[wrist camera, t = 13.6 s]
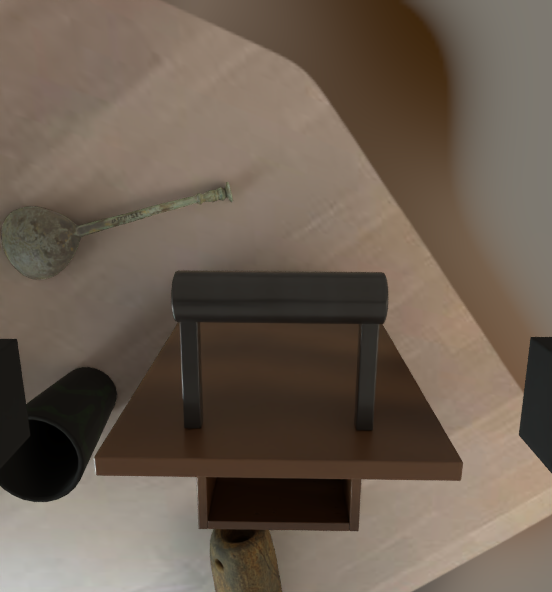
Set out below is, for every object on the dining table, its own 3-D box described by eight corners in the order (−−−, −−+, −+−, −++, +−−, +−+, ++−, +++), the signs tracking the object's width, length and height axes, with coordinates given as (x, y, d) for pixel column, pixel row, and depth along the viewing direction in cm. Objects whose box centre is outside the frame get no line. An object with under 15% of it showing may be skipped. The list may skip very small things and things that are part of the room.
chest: (345, 466, 54) (358, 531, 45) (213, 464, 54) (198, 529, 45) (353, 280, 49) (370, 309, 40) (208, 278, 49) (190, 307, 40)
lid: (461, 481, 19) (483, 290, 18) (95, 476, 20) (77, 285, 18) (371, 316, 39) (377, 218, 37) (189, 314, 40) (186, 216, 38)
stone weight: (202, 511, 56) (192, 557, 49) (267, 499, 55) (265, 545, 49) (235, 624, 59) (229, 681, 53) (296, 614, 59) (297, 670, 52)
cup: (133, 366, 52) (89, 427, 40) (121, 434, 54) (76, 511, 42) (55, 349, 51) (-12, 405, 40) (46, 419, 53) (-20, 492, 42)
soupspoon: (-5, 214, 49) (22, 280, 51) (-26, 220, 46) (4, 291, 47) (223, 155, 46) (243, 227, 48) (218, 157, 43) (239, 234, 45)
